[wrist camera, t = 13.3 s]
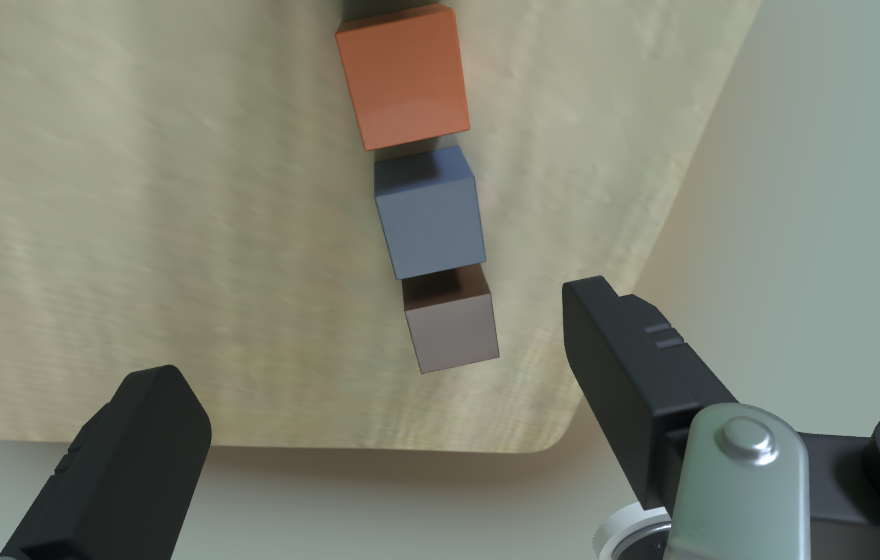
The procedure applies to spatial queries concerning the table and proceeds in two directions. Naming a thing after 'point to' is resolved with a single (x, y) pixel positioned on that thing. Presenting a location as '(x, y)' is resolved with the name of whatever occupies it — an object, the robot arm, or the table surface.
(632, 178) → the table surface
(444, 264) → the block
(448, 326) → the block
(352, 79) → the block
